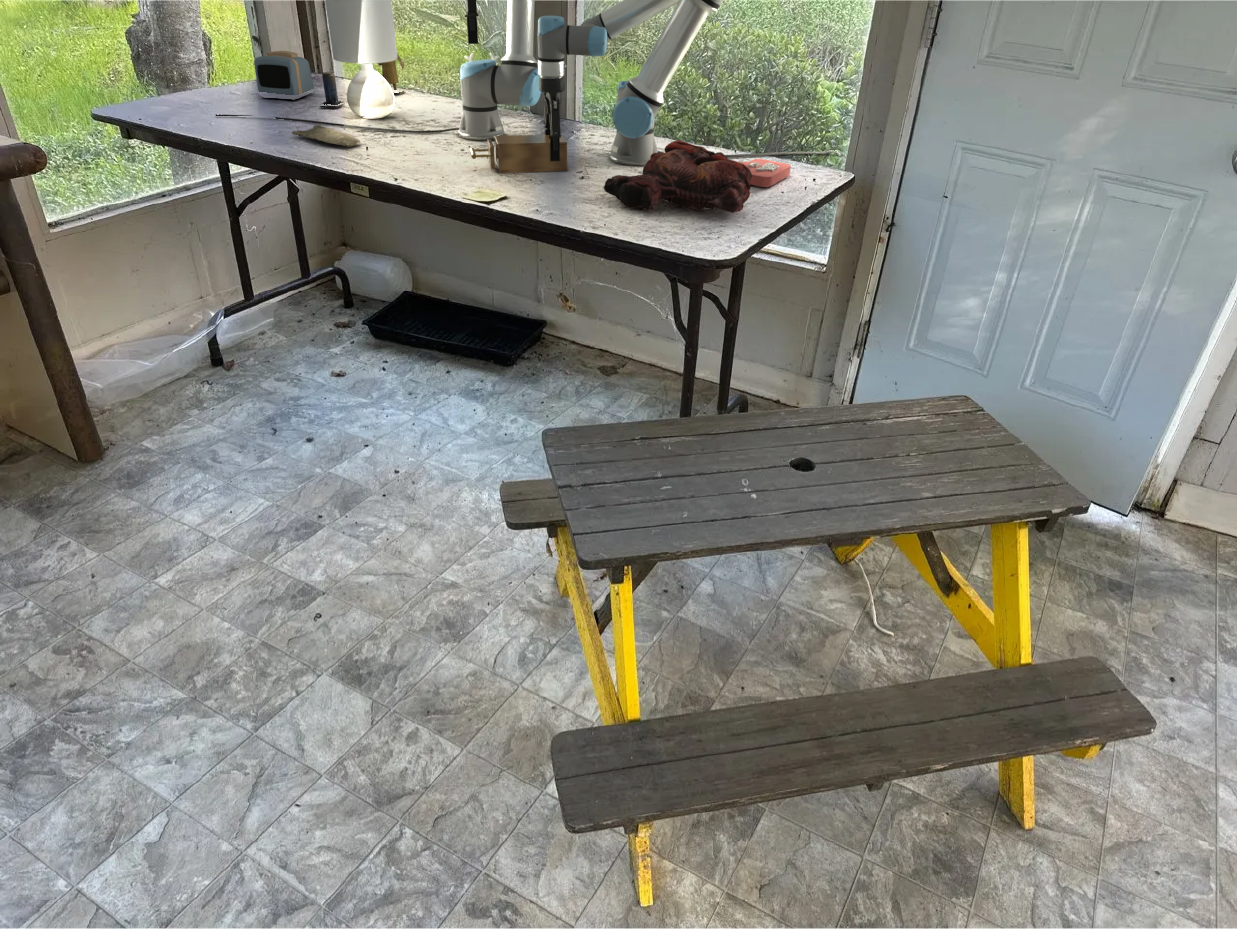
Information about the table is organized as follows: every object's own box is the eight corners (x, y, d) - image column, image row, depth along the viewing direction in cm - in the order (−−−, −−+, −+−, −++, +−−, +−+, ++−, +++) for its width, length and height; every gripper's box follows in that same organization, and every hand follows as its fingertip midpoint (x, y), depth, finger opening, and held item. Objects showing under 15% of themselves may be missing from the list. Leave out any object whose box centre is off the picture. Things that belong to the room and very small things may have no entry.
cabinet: (499, 172, 252) (497, 143, 247) (496, 163, 260) (494, 135, 255) (567, 170, 256) (567, 142, 251) (562, 162, 264) (561, 134, 259)
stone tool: (290, 136, 278) (341, 150, 267) (288, 127, 277) (340, 140, 265) (317, 131, 286) (368, 143, 274) (316, 122, 284) (367, 134, 273)
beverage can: (339, 109, 314) (334, 74, 307) (318, 108, 314) (312, 73, 307) (346, 104, 321) (341, 69, 314) (325, 103, 321) (320, 69, 314)
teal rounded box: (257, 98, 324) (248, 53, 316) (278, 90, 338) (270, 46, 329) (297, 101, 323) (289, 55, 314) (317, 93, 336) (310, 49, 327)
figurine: (412, 92, 342) (404, 9, 325) (400, 97, 335) (391, 11, 318) (388, 90, 345) (378, 7, 328) (375, 94, 338) (365, 9, 321)
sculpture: (769, 218, 227) (775, 169, 218) (687, 248, 212) (691, 197, 203) (663, 172, 252) (665, 126, 244) (583, 196, 237) (582, 148, 229)
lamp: (416, 115, 310) (403, -11, 287) (372, 125, 294) (355, -7, 272) (373, 106, 319) (358, -16, 296) (328, 116, 304) (309, -13, 281)
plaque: (748, 154, 263) (793, 162, 256) (746, 167, 265) (791, 175, 258) (722, 166, 250) (769, 175, 244) (721, 179, 252) (767, 189, 246)
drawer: (472, 169, 250) (470, 147, 247) (470, 162, 257) (468, 139, 254) (555, 167, 255) (555, 145, 251) (551, 159, 262) (551, 138, 258)
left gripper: (483, -55, 218) (488, 47, 231) (479, -58, 228) (484, 40, 242) (454, -55, 216) (460, 47, 230) (451, -58, 227) (458, 39, 240)
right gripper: (570, 83, 236) (570, 165, 249) (558, 69, 254) (559, 146, 267) (544, 84, 235) (545, 166, 248) (533, 69, 253) (535, 146, 266)
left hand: (473, 43), depth 236 cm, fingers closed
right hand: (552, 155), depth 257 cm, fingers closed on cabinet, 10 cm apart
